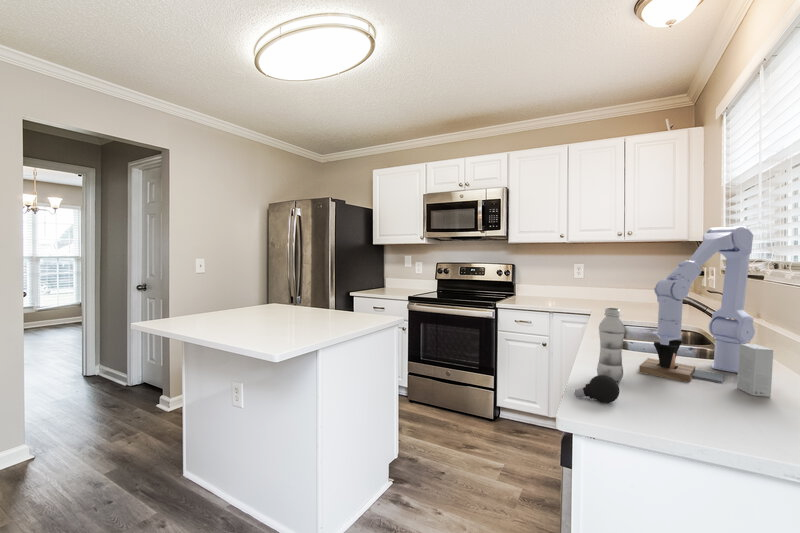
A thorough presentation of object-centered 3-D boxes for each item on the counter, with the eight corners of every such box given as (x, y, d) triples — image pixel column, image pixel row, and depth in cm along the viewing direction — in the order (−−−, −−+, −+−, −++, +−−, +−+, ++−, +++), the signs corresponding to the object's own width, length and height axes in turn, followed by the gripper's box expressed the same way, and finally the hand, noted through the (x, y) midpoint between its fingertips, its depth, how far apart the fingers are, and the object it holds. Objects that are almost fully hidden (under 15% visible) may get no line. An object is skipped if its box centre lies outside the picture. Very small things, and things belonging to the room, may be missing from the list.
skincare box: (771, 397, 96) (774, 350, 95) (751, 395, 97) (754, 348, 96) (754, 389, 102) (757, 344, 101) (736, 387, 103) (738, 343, 102)
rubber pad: (693, 371, 117) (693, 369, 117) (723, 376, 112) (723, 374, 112) (689, 377, 111) (690, 375, 111) (721, 383, 106) (721, 381, 106)
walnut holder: (647, 364, 123) (648, 357, 123) (694, 372, 115) (695, 366, 115) (639, 372, 114) (639, 365, 114) (689, 382, 106) (689, 375, 106)
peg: (661, 370, 117) (661, 350, 117) (675, 372, 115) (676, 352, 114) (658, 372, 115) (659, 352, 114) (673, 375, 112) (674, 355, 112)
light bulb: (569, 376, 96) (612, 367, 92) (578, 398, 97) (621, 391, 92) (569, 389, 91) (615, 380, 86) (579, 413, 91) (625, 406, 87)
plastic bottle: (625, 380, 106) (629, 308, 106) (619, 386, 102) (622, 311, 101) (600, 375, 111) (603, 306, 110) (593, 380, 106) (596, 308, 105)
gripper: (658, 315, 122) (656, 357, 122) (648, 320, 111) (646, 366, 112) (686, 318, 117) (683, 362, 118) (678, 324, 107) (675, 372, 107)
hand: (667, 364), depth 114 cm, fingers open, 7 cm apart
